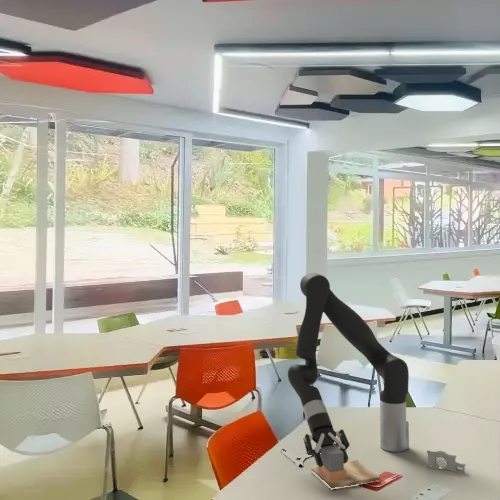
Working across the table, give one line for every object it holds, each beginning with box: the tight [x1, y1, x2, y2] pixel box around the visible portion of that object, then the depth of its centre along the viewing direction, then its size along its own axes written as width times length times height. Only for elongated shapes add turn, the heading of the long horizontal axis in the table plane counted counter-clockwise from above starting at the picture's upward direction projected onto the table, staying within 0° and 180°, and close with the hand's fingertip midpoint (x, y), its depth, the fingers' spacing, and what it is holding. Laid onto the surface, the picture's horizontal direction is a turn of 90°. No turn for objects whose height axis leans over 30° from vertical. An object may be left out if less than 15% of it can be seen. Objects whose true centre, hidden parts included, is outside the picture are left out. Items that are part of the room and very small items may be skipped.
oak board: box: [310, 459, 381, 488], centre depth 177 cm, size 17×14×2 cm
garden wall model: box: [426, 450, 466, 474], centre depth 181 cm, size 12×2×6 cm, turn 58°
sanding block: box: [318, 445, 346, 481], centre depth 175 cm, size 6×8×8 cm
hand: (333, 464), depth 174 cm, fingers open, 8 cm apart
